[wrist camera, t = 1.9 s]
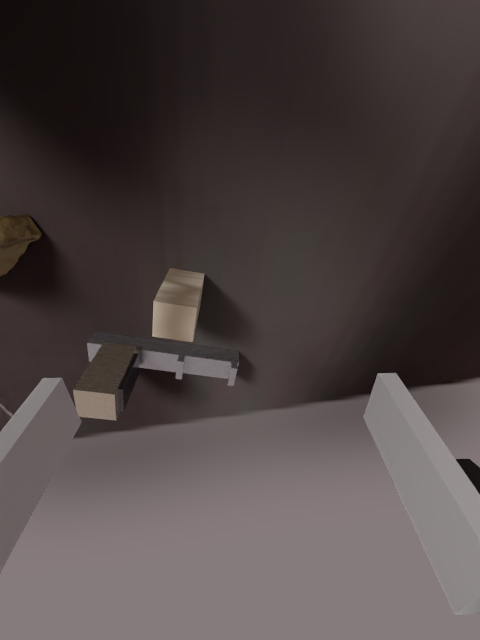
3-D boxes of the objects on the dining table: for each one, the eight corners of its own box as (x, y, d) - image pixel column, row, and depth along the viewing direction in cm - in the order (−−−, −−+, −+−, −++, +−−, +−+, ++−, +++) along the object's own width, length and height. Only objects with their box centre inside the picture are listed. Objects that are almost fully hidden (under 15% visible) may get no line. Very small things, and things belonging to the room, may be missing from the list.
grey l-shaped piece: (97, 352, 40) (57, 414, 31) (95, 328, 37) (51, 387, 29) (234, 369, 42) (234, 432, 33) (239, 348, 40) (240, 409, 31)
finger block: (167, 301, 36) (152, 340, 29) (169, 268, 33) (153, 301, 27) (200, 306, 36) (192, 345, 29) (204, 273, 34) (197, 307, 27)
